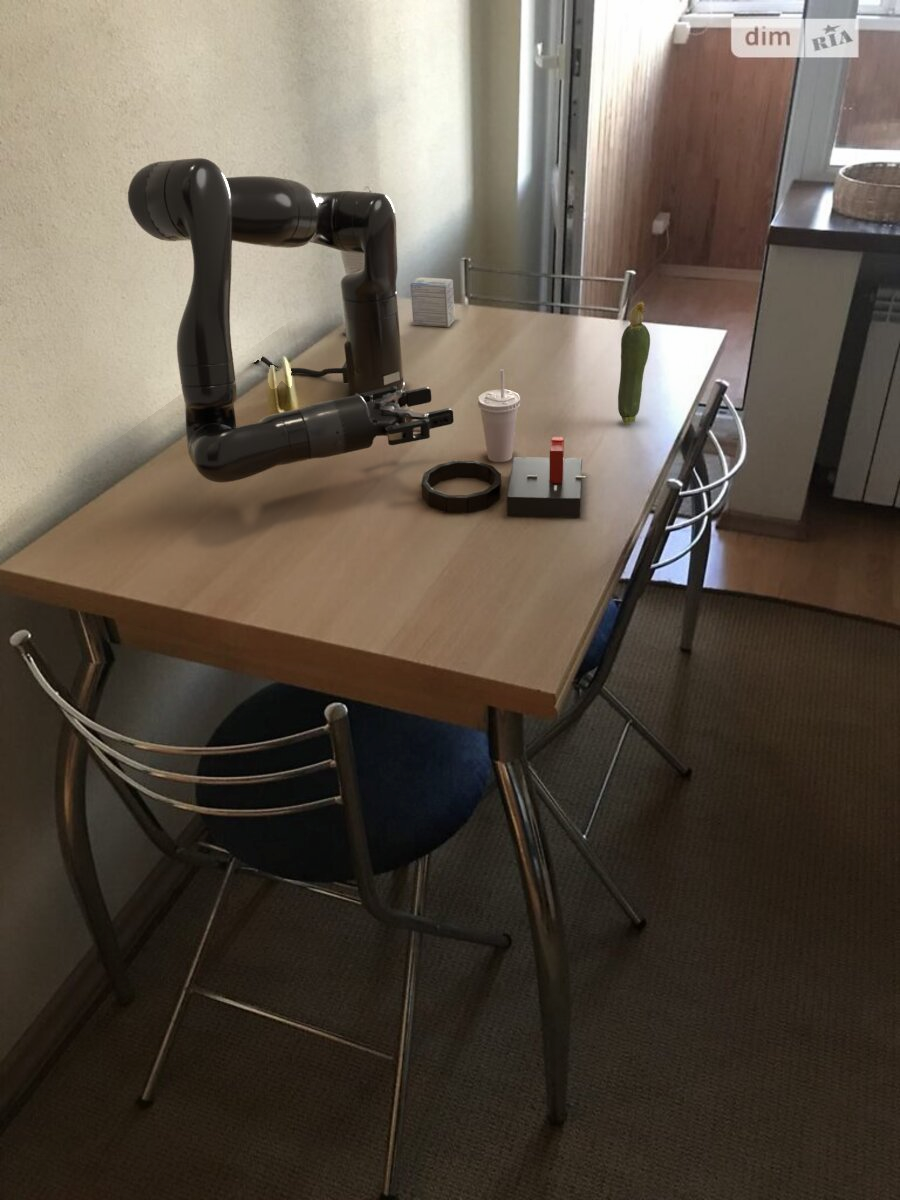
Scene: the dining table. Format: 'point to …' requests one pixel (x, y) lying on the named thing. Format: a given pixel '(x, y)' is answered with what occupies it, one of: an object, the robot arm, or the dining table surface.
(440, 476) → the ring
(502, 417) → the smoothie
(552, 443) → the knob
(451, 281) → the grey striped block
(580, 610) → the dining table surface
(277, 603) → the dining table surface
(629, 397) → the vegetable
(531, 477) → the panel
